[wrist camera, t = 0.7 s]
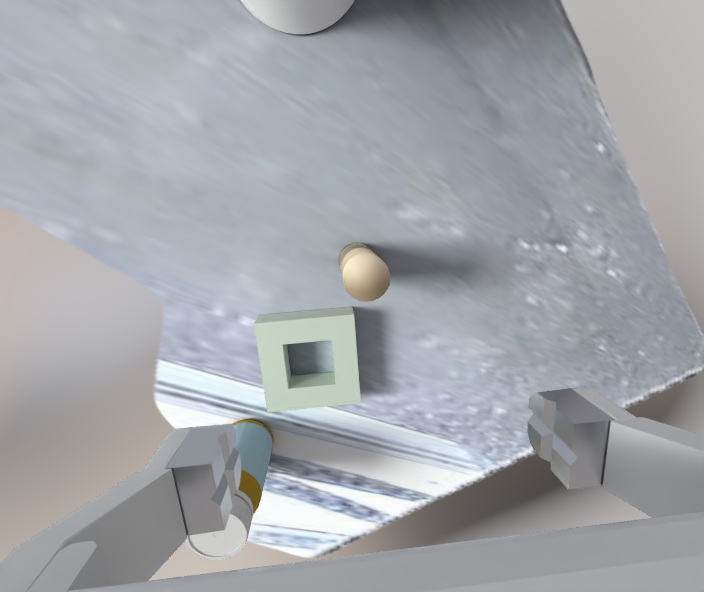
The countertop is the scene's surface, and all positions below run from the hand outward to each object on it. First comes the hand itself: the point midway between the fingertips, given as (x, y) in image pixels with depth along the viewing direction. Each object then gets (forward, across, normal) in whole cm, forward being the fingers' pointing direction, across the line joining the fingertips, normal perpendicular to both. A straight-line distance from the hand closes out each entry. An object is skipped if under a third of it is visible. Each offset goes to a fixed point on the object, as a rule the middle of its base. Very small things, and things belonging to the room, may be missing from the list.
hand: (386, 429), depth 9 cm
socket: (+35, +5, +12) cm, 38 cm away
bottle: (+36, +15, +24) cm, 46 cm away
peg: (+35, -2, 0) cm, 35 cm away
